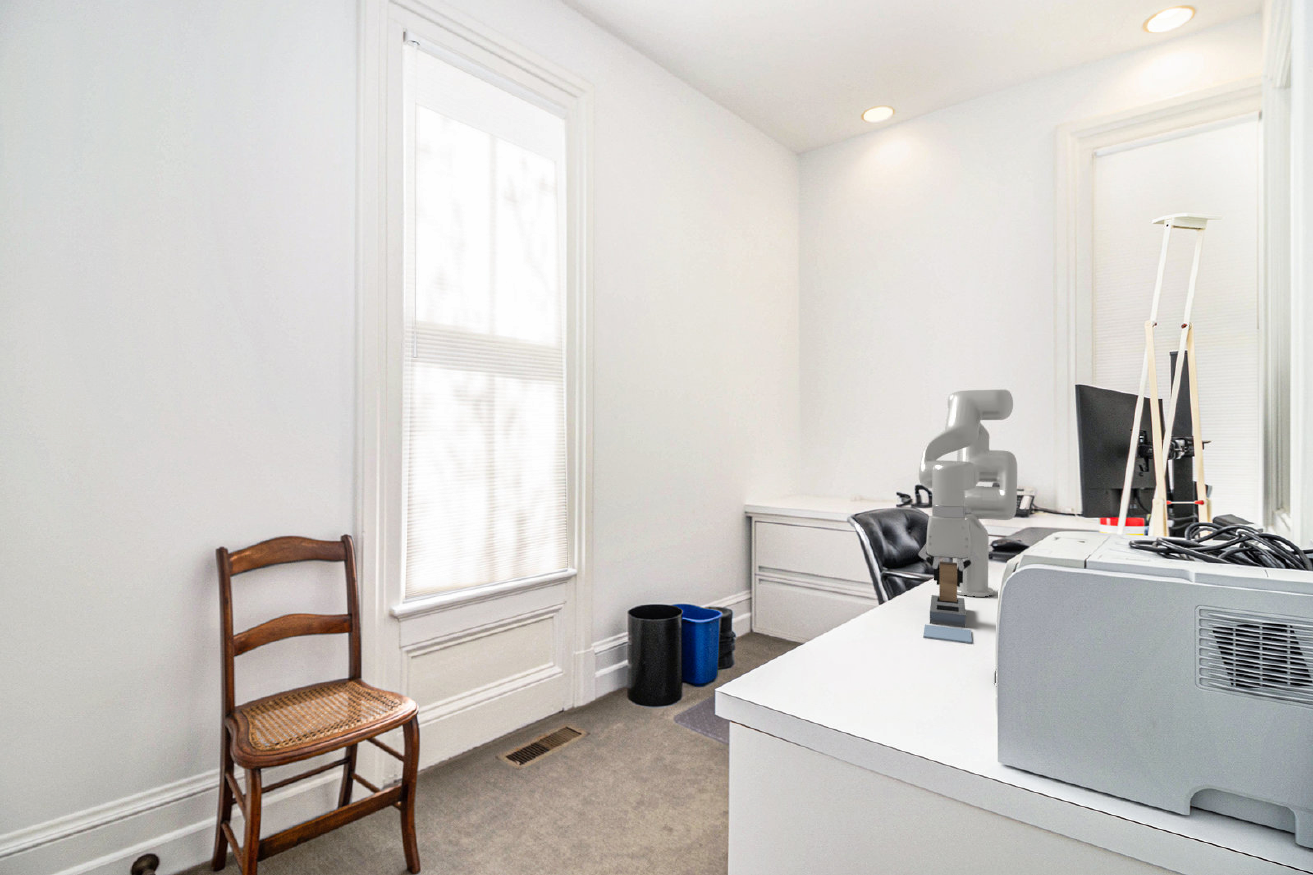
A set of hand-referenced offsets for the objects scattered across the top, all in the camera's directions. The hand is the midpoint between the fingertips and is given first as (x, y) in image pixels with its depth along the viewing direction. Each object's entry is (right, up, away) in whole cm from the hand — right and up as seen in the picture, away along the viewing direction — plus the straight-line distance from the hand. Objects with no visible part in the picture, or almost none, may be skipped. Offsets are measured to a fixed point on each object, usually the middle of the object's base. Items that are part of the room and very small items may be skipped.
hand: (948, 583), depth 163 cm
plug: (0, -4, 0) cm, 4 cm away
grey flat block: (+1, -9, +3) cm, 10 cm away
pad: (-6, -9, -12) cm, 16 cm away
